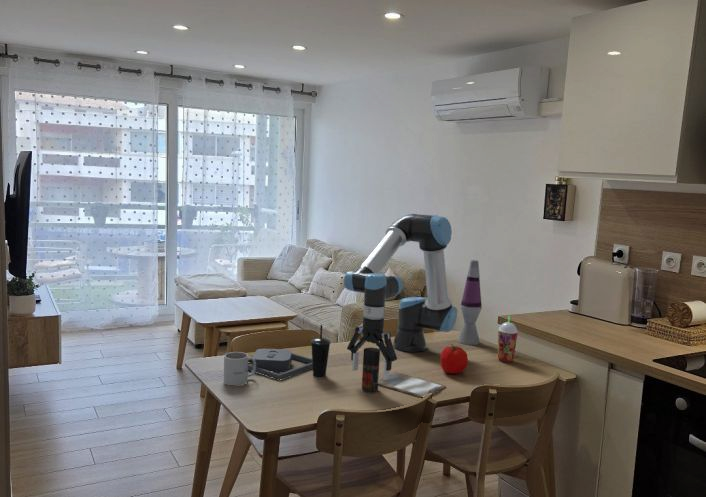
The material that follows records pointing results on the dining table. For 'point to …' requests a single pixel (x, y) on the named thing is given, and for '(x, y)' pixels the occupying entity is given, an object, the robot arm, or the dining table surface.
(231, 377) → the mug
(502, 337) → the smoothie
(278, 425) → the dining table surface
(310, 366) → the frame
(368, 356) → the deodorant
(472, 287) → the lamp
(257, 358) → the streaming box
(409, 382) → the silver rectangular panel
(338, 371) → the dining table surface
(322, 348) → the drinking cup
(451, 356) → the tomato
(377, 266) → the robot arm
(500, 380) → the dining table surface
